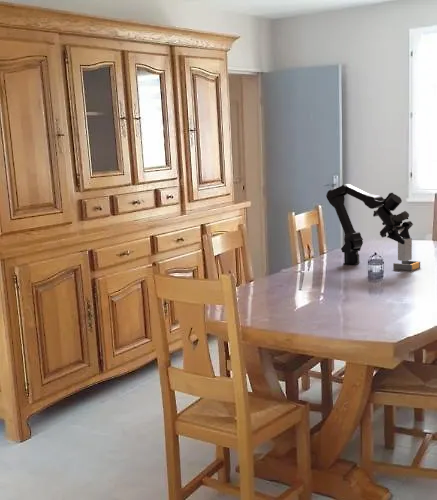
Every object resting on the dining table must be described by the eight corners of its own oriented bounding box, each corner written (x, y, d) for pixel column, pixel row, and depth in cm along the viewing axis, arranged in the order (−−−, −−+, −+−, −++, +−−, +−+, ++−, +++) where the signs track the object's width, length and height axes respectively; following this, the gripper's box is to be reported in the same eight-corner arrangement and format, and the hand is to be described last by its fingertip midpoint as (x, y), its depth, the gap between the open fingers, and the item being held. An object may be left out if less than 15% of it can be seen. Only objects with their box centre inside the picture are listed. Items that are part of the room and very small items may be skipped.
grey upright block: (397, 260, 302) (397, 238, 301) (404, 258, 306) (404, 236, 304) (405, 261, 299) (405, 239, 298) (411, 259, 302) (411, 237, 301)
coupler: (393, 269, 307) (393, 263, 306) (402, 266, 313) (402, 260, 313) (411, 271, 301) (411, 265, 300) (420, 268, 307) (420, 261, 307)
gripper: (385, 208, 295) (405, 234, 289) (409, 203, 307) (430, 229, 300) (371, 224, 303) (390, 250, 296) (395, 219, 314) (415, 244, 308)
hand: (407, 242), depth 300 cm, fingers closed on grey upright block, 5 cm apart
